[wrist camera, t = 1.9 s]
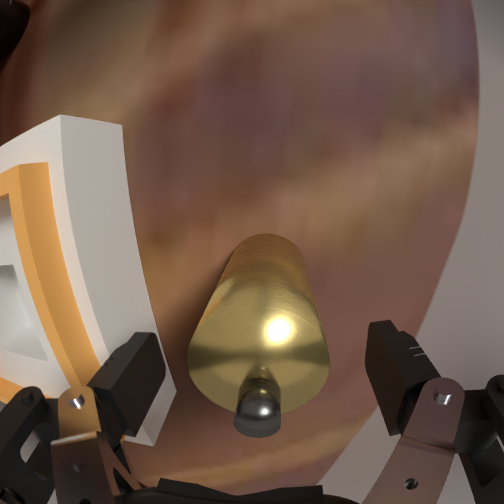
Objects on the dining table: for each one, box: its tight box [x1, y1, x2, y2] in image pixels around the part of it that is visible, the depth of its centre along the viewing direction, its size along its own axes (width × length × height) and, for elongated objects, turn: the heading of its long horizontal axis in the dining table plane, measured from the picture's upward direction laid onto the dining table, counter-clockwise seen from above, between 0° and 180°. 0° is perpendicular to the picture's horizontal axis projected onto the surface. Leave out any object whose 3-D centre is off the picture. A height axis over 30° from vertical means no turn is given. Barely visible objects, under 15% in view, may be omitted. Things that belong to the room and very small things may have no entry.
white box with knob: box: [0, 115, 177, 446], centre depth 15 cm, size 23×18×8 cm
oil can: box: [187, 234, 330, 438], centre depth 12 cm, size 5×5×10 cm
